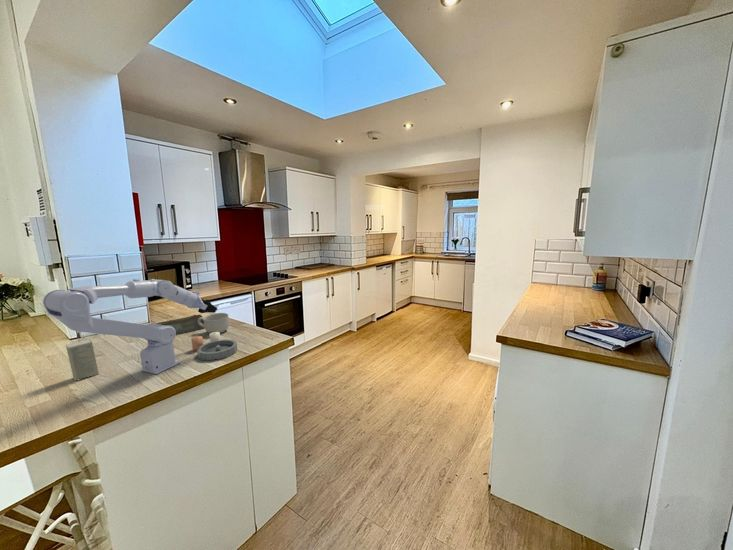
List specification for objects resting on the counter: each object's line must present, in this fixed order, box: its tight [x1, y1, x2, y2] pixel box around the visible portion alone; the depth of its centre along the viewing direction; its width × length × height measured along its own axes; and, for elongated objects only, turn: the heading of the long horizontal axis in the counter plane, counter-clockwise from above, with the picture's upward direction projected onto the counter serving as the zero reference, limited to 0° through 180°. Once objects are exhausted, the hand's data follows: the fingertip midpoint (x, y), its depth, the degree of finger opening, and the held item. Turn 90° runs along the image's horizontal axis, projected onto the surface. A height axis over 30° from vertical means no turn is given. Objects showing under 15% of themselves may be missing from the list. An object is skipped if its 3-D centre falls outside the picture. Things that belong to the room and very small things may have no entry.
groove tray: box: [196, 338, 238, 361], centre depth 117 cm, size 14×14×3 cm
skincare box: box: [65, 338, 100, 381], centre depth 100 cm, size 6×4×12 cm
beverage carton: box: [156, 314, 205, 335], centre depth 143 cm, size 8×19×7 cm, turn 130°
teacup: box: [197, 312, 230, 334], centre depth 141 cm, size 14×11×8 cm
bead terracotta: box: [190, 335, 204, 352], centre depth 121 cm, size 4×4×5 cm
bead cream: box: [208, 332, 222, 342], centre depth 125 cm, size 4×4×5 cm
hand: (210, 307), depth 124 cm, fingers open, 7 cm apart
